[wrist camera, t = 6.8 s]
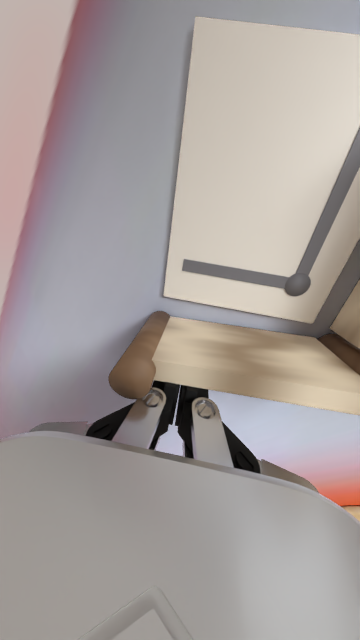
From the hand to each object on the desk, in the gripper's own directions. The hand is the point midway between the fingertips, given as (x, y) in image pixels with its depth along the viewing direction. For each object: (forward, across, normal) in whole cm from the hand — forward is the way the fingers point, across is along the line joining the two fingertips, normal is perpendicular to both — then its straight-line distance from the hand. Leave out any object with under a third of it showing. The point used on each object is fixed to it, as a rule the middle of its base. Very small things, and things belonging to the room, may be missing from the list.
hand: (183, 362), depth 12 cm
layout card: (+1, -3, -10) cm, 10 cm away
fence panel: (+1, -3, -2) cm, 4 cm away
